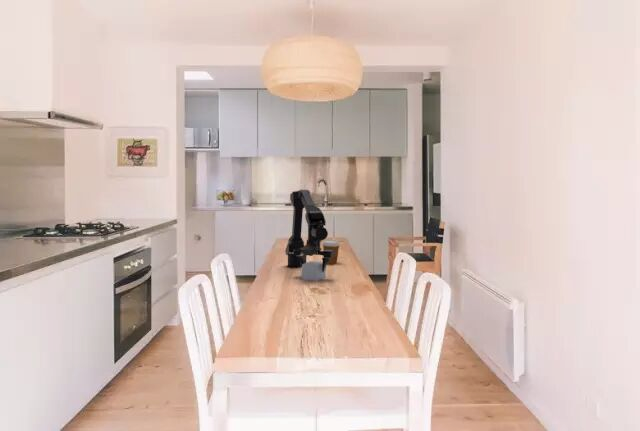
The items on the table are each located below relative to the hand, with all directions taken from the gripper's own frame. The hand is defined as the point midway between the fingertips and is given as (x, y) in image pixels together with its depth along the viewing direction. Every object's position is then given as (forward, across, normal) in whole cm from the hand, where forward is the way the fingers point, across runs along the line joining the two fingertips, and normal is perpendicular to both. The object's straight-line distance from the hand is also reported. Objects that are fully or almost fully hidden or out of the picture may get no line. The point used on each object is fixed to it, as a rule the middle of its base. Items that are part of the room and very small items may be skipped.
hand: (313, 271), depth 227 cm
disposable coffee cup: (+4, -7, +39) cm, 40 cm away
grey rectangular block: (+3, 0, 0) cm, 3 cm away
